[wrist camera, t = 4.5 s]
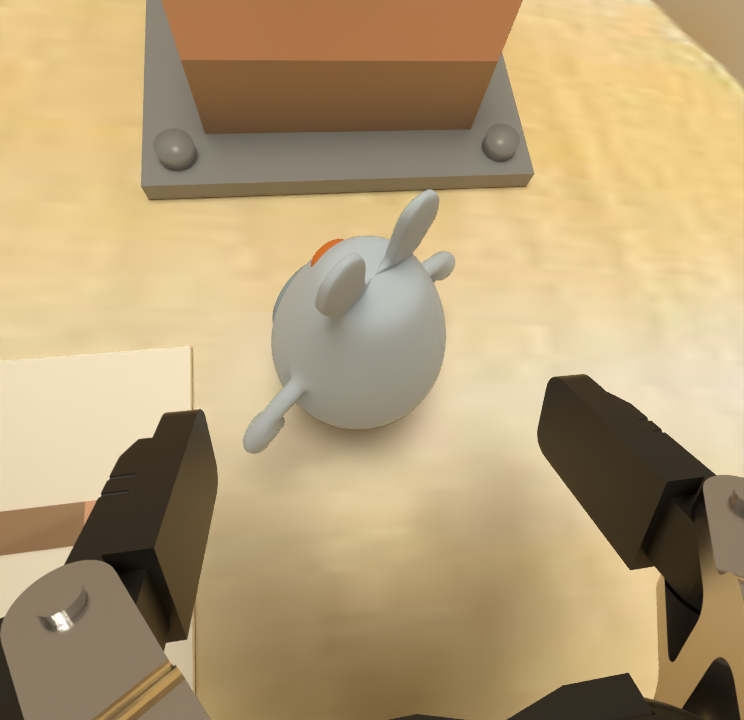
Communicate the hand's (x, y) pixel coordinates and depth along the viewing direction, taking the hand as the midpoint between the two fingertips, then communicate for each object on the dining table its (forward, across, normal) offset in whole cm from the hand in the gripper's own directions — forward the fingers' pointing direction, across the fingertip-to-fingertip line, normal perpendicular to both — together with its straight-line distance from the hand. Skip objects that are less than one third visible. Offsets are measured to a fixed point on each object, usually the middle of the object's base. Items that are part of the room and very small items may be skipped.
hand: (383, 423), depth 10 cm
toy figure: (+10, 0, +4) cm, 10 cm away
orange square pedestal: (+24, -1, -10) cm, 26 cm away
